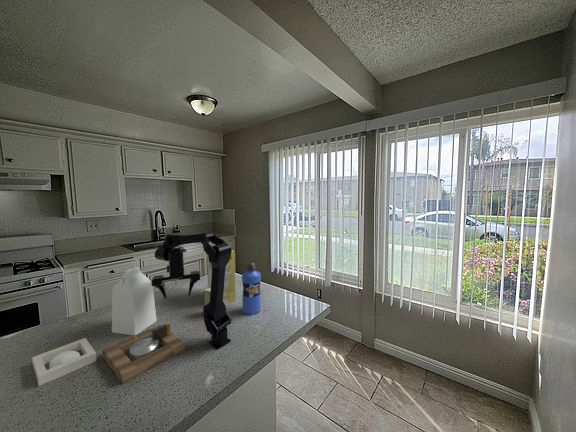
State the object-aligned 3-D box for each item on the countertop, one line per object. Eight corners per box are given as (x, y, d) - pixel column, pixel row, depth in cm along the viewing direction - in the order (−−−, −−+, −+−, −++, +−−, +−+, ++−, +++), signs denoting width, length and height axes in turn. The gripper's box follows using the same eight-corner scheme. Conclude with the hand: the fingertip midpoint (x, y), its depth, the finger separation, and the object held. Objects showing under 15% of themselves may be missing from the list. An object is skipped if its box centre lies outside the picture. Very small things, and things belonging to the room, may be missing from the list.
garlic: (86, 357, 85) (85, 347, 84) (69, 371, 78) (69, 360, 78) (63, 357, 84) (62, 347, 84) (44, 371, 78) (43, 360, 77)
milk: (135, 335, 97) (131, 274, 95) (111, 332, 100) (108, 272, 97) (156, 320, 109) (154, 266, 107) (135, 318, 111) (132, 264, 109)
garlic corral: (96, 360, 82) (96, 352, 82) (38, 386, 71) (37, 377, 71) (85, 345, 91) (85, 337, 91) (32, 365, 80) (32, 357, 80)
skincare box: (204, 313, 116) (203, 289, 115) (211, 310, 119) (210, 286, 118) (214, 317, 113) (213, 292, 112) (220, 313, 116) (220, 289, 115)
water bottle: (263, 313, 117) (262, 263, 114) (244, 316, 113) (243, 265, 111) (258, 305, 125) (258, 259, 123) (240, 308, 122) (240, 260, 120)
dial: (135, 365, 80) (134, 344, 79) (126, 354, 86) (125, 335, 85) (175, 345, 91) (174, 327, 90) (164, 336, 96) (163, 319, 96)
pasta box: (208, 293, 139) (207, 247, 137) (225, 290, 145) (224, 245, 142) (216, 305, 124) (214, 253, 122) (235, 301, 129) (234, 251, 127)
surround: (185, 350, 88) (184, 342, 88) (122, 384, 72) (122, 374, 72) (160, 331, 100) (160, 324, 100) (102, 356, 85) (102, 348, 84)
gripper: (198, 255, 112) (200, 287, 113) (154, 260, 105) (156, 293, 106) (199, 261, 102) (200, 296, 103) (150, 266, 95) (152, 304, 96)
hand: (177, 297), depth 102 cm, fingers open, 9 cm apart
